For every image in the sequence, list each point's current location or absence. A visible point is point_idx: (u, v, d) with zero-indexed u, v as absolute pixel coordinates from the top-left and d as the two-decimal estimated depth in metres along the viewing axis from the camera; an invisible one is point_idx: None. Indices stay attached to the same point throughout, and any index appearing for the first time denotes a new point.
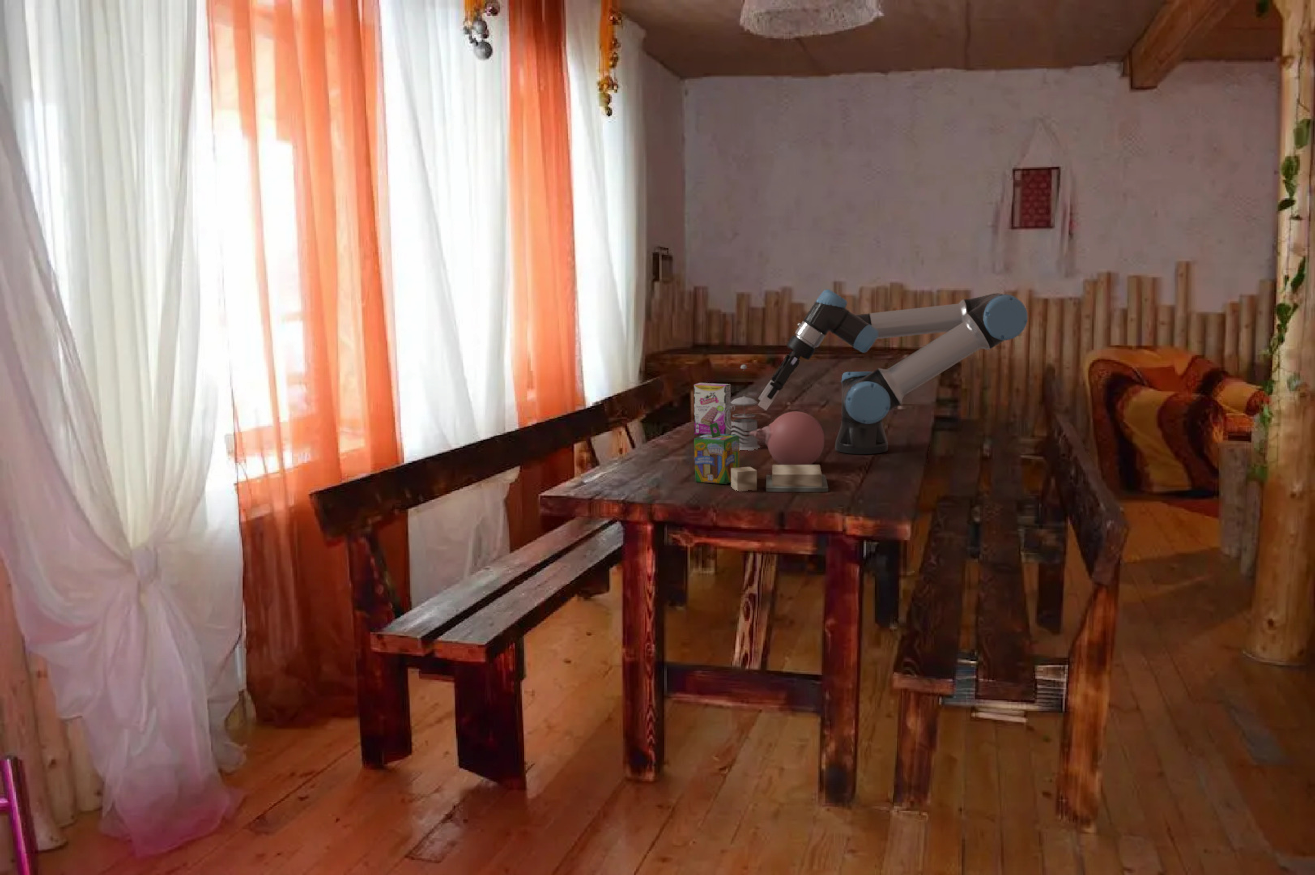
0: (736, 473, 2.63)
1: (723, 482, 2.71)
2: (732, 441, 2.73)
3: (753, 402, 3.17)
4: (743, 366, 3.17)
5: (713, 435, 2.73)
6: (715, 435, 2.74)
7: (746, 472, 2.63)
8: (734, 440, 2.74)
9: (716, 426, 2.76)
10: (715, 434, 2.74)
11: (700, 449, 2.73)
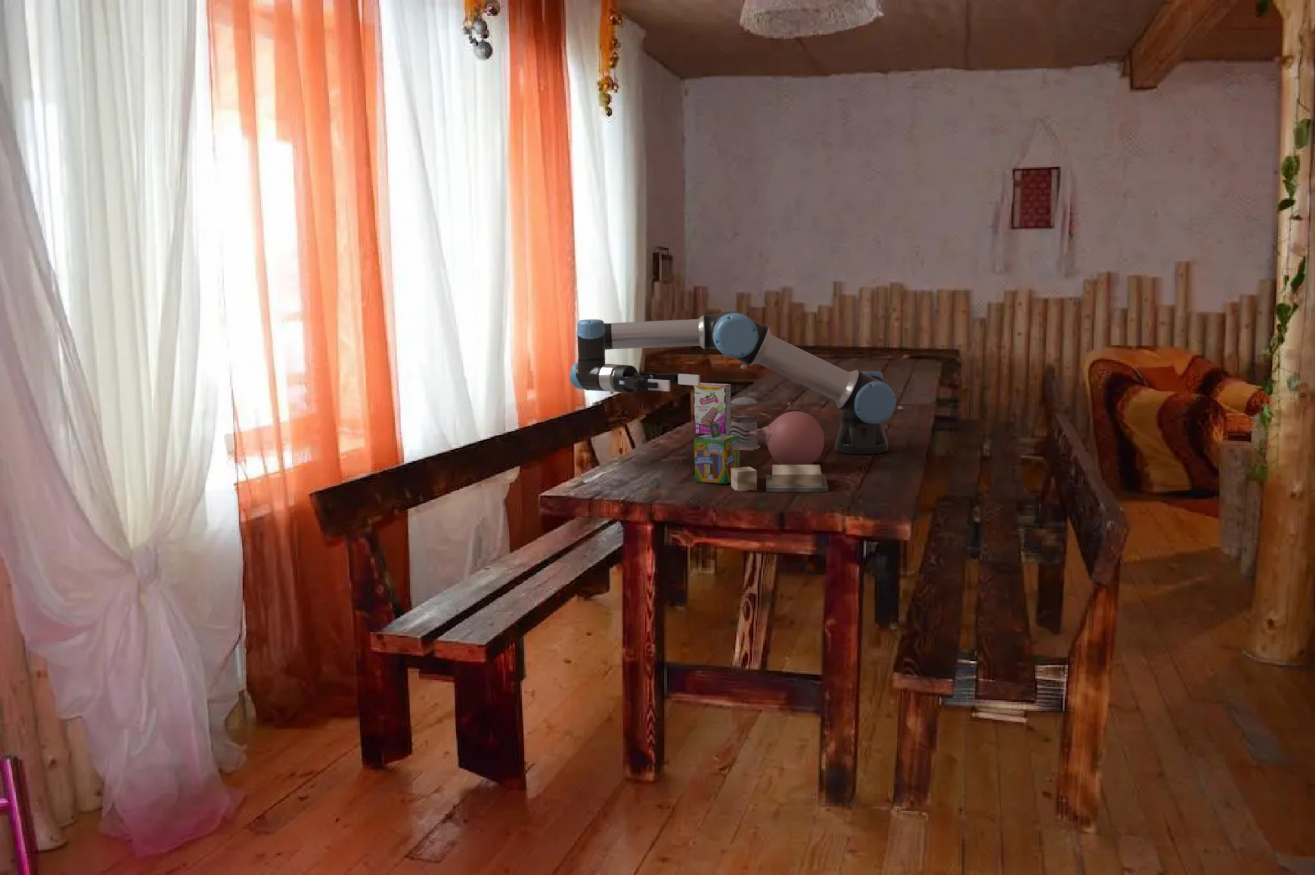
0: (736, 473, 2.63)
1: (723, 482, 2.71)
2: (732, 441, 2.73)
3: (753, 402, 3.17)
4: (743, 366, 3.17)
5: (713, 435, 2.73)
6: (715, 435, 2.74)
7: (746, 472, 2.63)
8: (734, 439, 2.74)
9: (716, 426, 2.76)
10: (715, 434, 2.74)
11: (700, 449, 2.73)
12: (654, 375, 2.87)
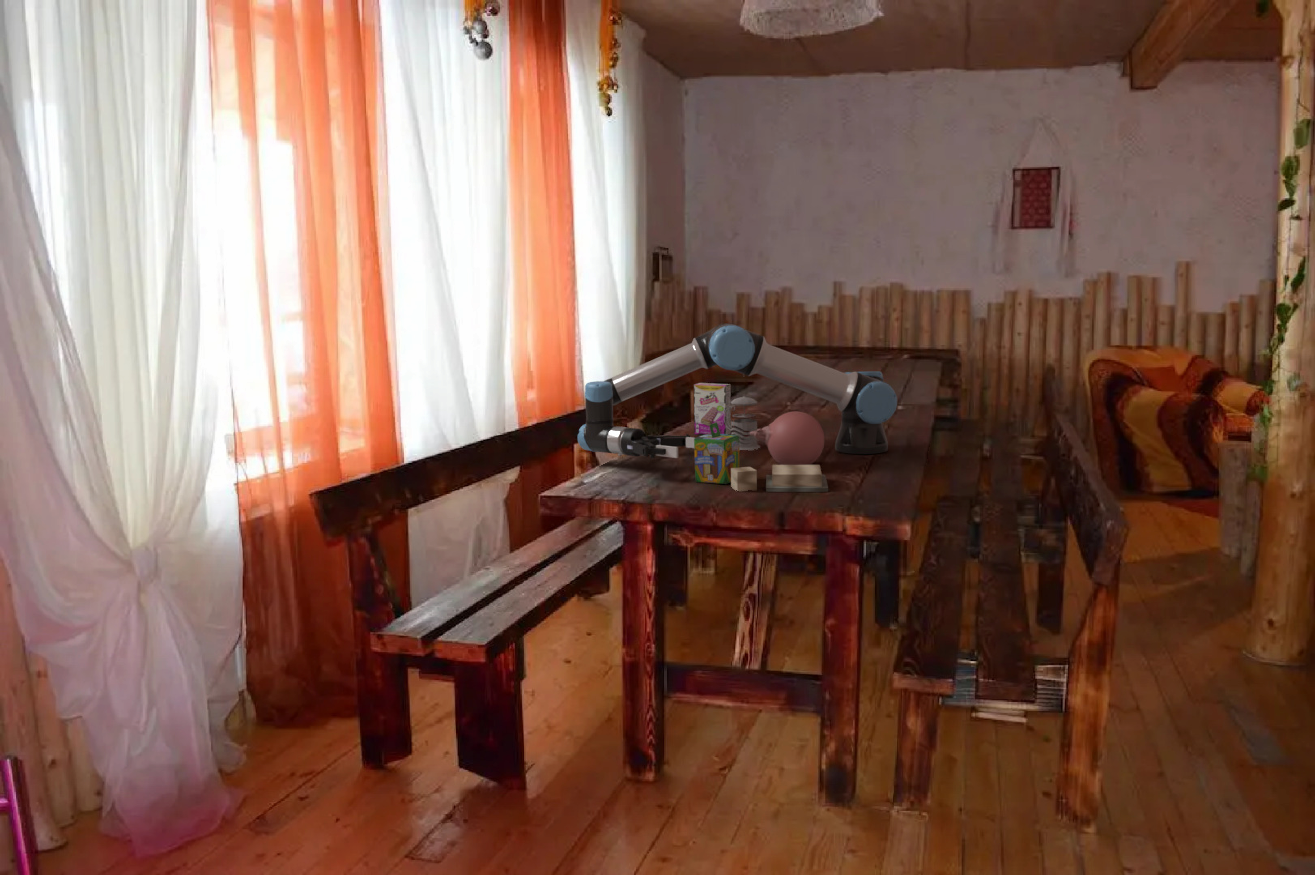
0: (736, 473, 2.63)
1: (723, 482, 2.71)
2: (732, 441, 2.73)
3: (753, 402, 3.17)
4: None
5: (713, 435, 2.73)
6: (715, 435, 2.74)
7: (746, 472, 2.63)
8: (734, 440, 2.74)
9: (716, 426, 2.76)
10: (715, 434, 2.74)
11: (700, 449, 2.73)
12: (662, 438, 2.88)
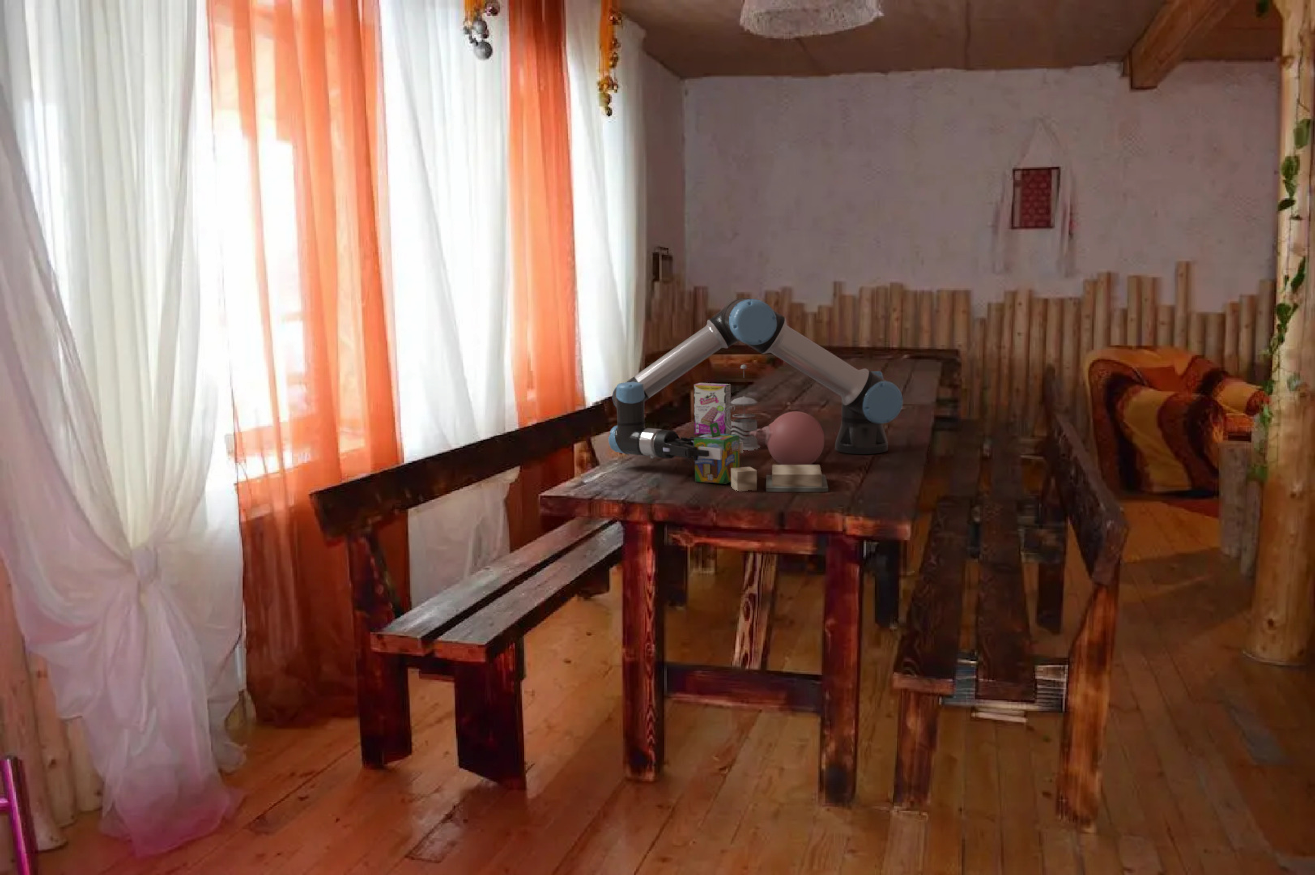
0: (736, 473, 2.63)
1: (723, 482, 2.71)
2: (732, 441, 2.73)
3: (753, 402, 3.17)
4: (743, 366, 3.17)
5: (713, 435, 2.73)
6: (715, 435, 2.74)
7: (746, 472, 2.63)
8: (734, 439, 2.74)
9: (716, 426, 2.76)
10: (715, 433, 2.74)
11: None
12: None
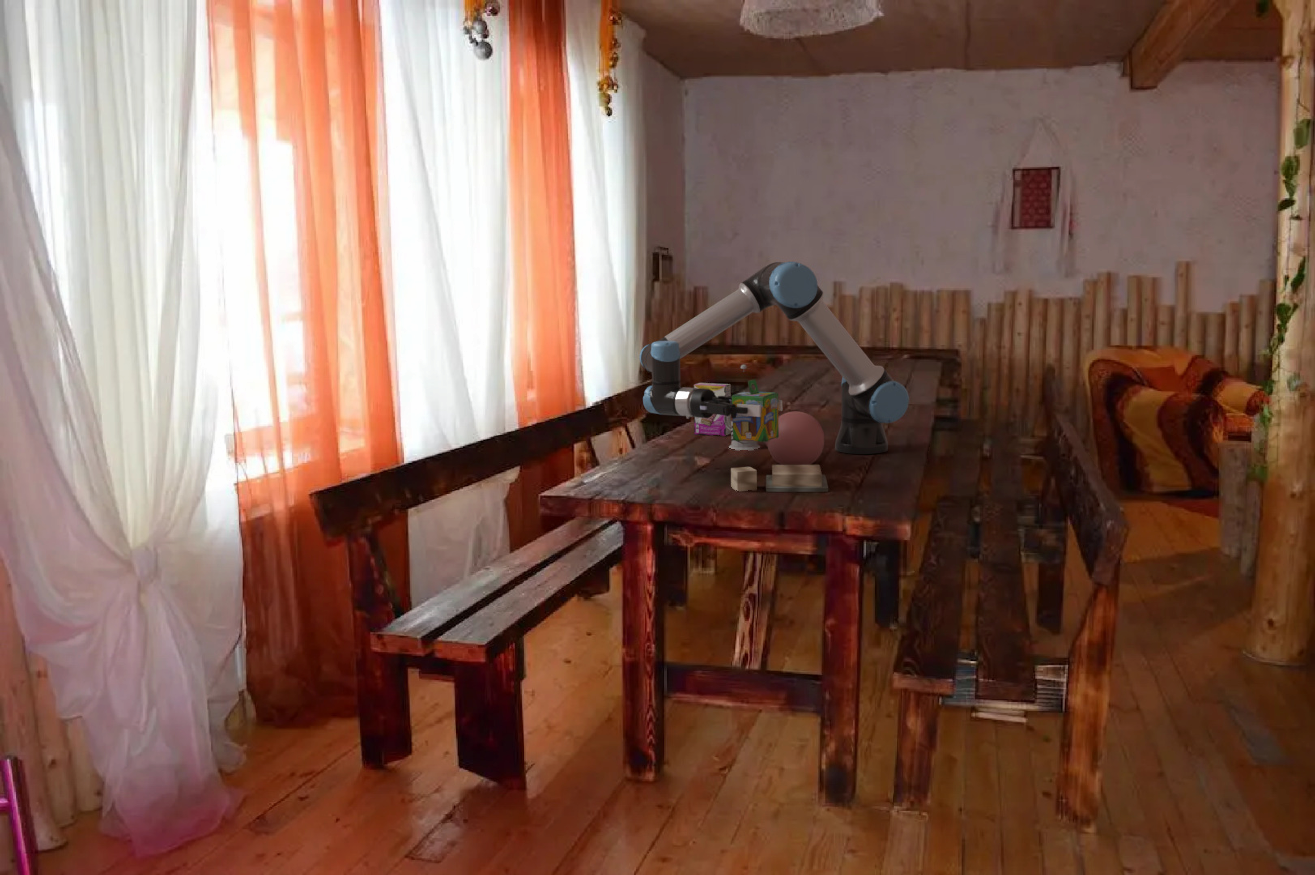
0: (736, 473, 2.63)
1: (762, 440, 2.63)
2: (771, 398, 2.65)
3: None
4: (743, 366, 3.17)
5: (751, 392, 2.66)
6: (753, 392, 2.67)
7: (746, 472, 2.63)
8: (773, 397, 2.66)
9: (754, 383, 2.68)
10: (753, 390, 2.67)
11: None
12: None
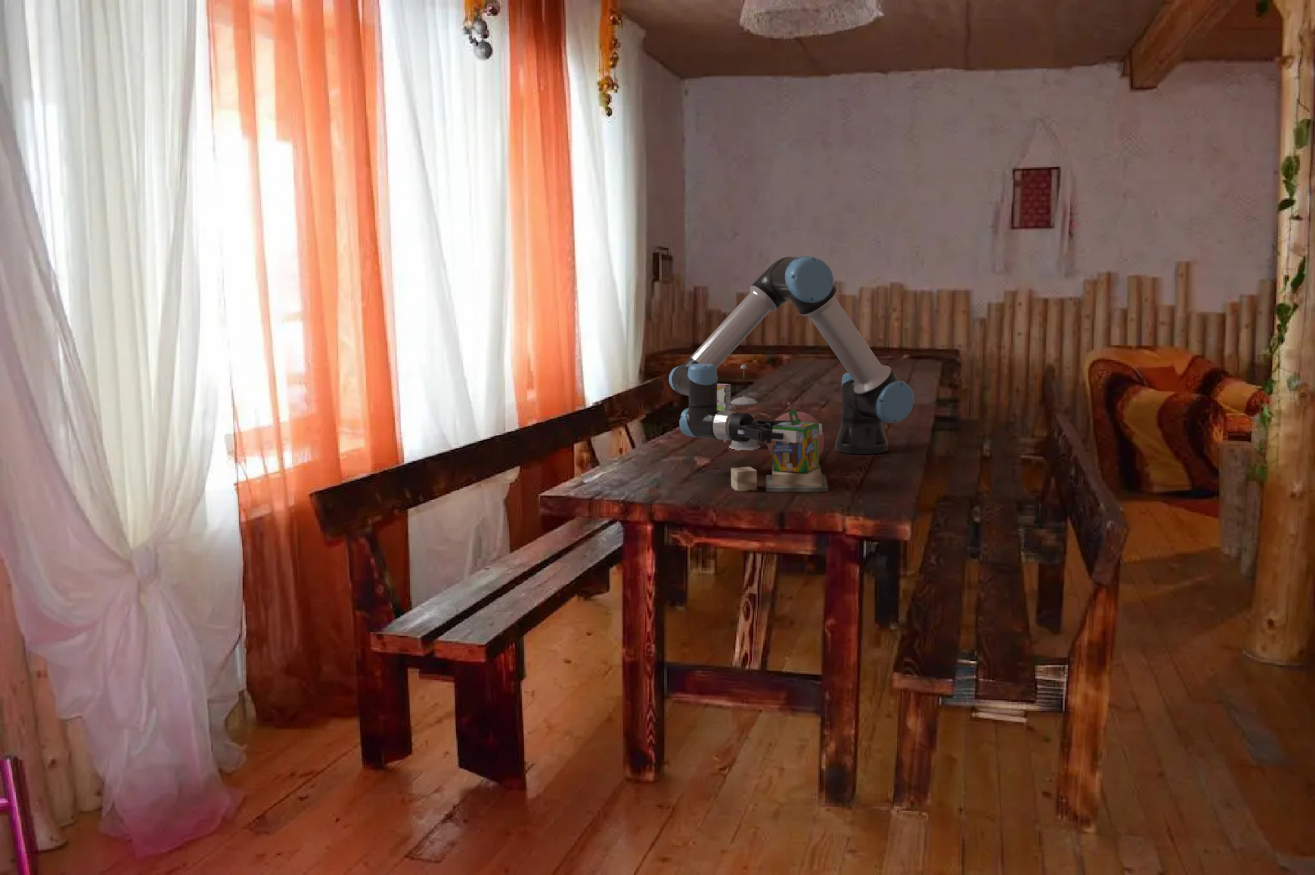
0: (736, 473, 2.63)
1: (803, 471, 2.62)
2: (812, 429, 2.64)
3: (753, 402, 3.17)
4: (743, 366, 3.17)
5: (792, 422, 2.65)
6: (794, 423, 2.65)
7: (746, 472, 2.63)
8: (814, 427, 2.65)
9: (795, 413, 2.67)
10: (794, 421, 2.65)
11: None
12: (772, 423, 2.73)
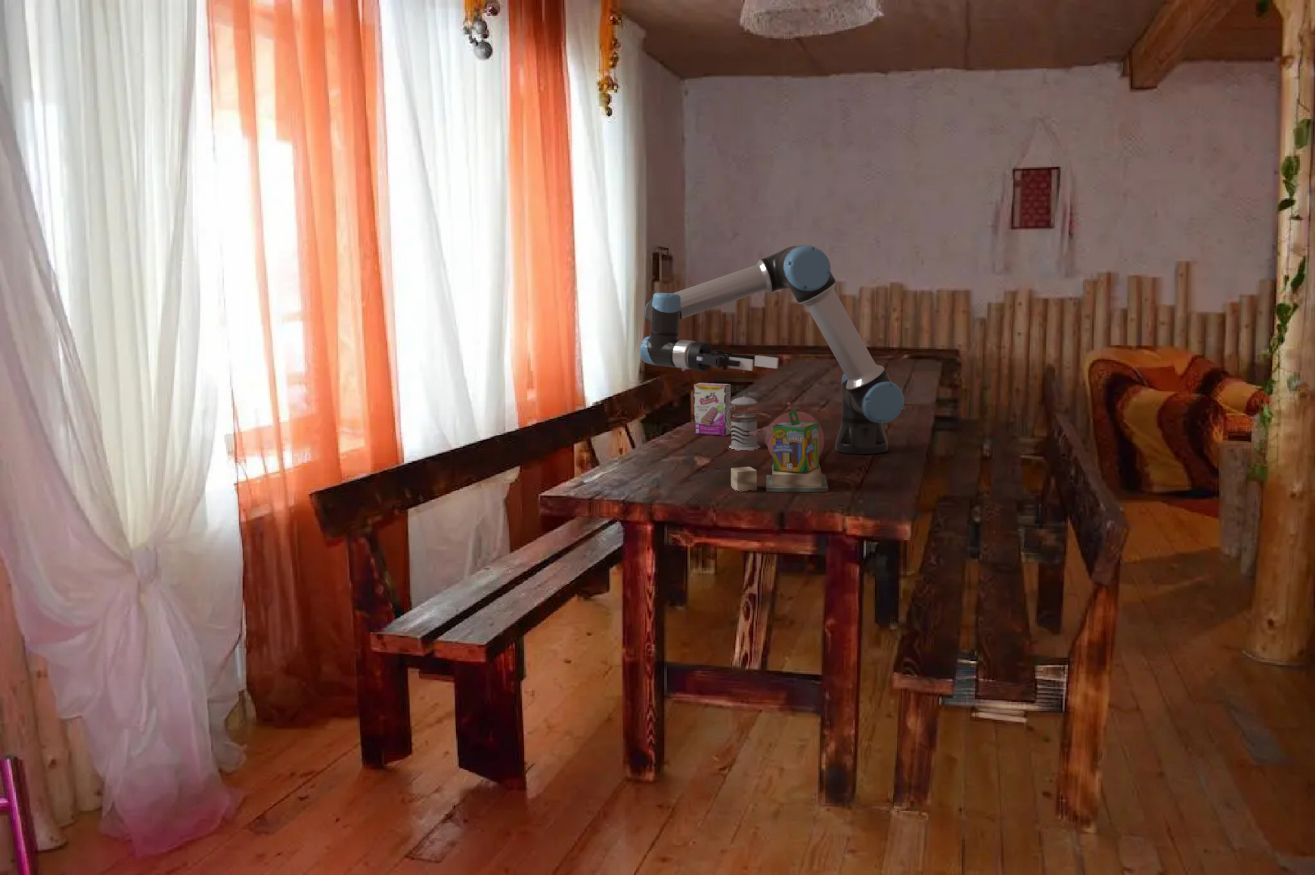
0: (736, 473, 2.63)
1: (803, 471, 2.62)
2: (812, 429, 2.64)
3: (753, 402, 3.17)
4: None
5: (792, 422, 2.65)
6: (794, 423, 2.65)
7: (746, 472, 2.63)
8: (814, 427, 2.65)
9: (795, 413, 2.67)
10: (794, 421, 2.65)
11: (779, 436, 2.64)
12: (730, 354, 2.80)
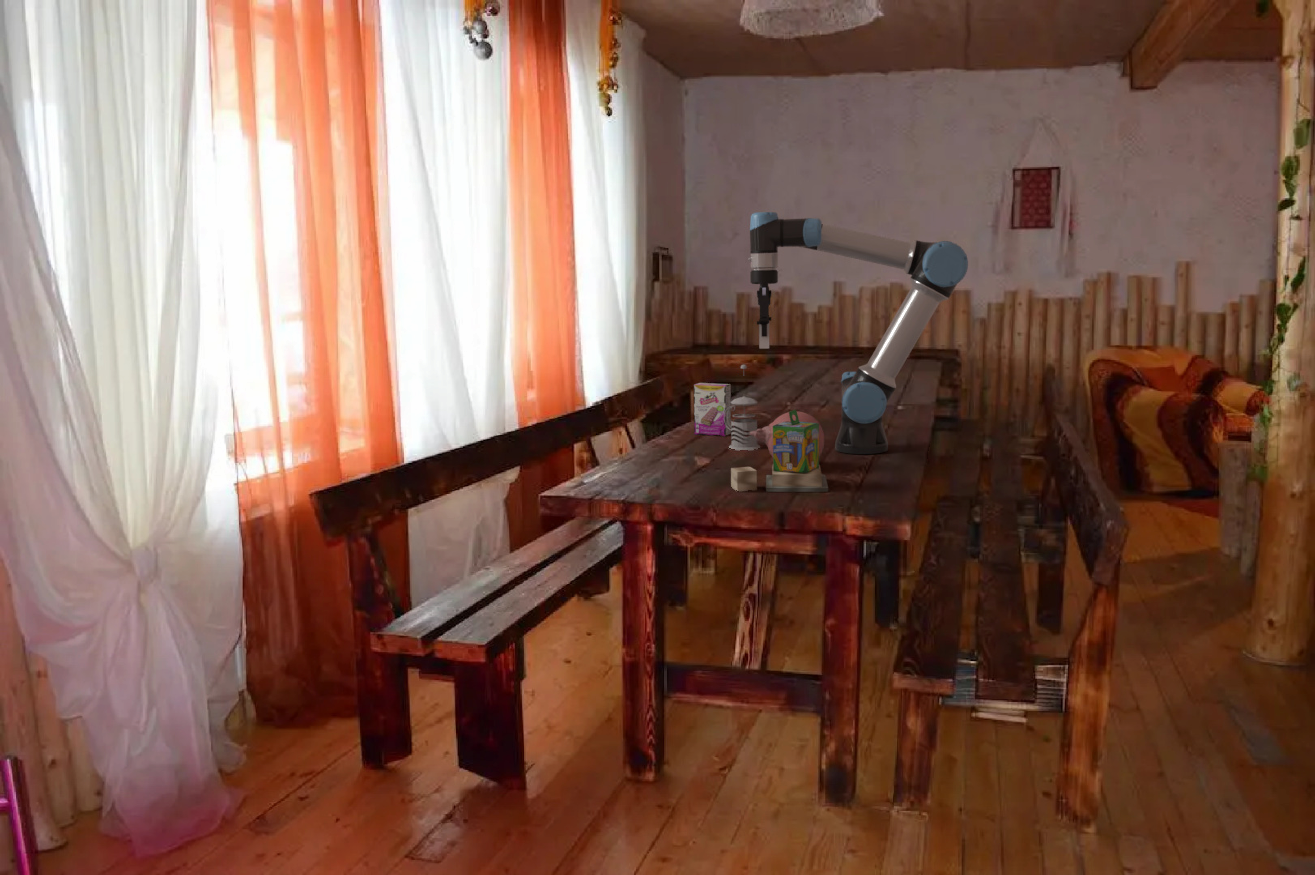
0: (736, 473, 2.63)
1: (803, 471, 2.62)
2: (812, 429, 2.64)
3: (753, 402, 3.17)
4: (743, 366, 3.17)
5: (792, 422, 2.65)
6: (794, 423, 2.65)
7: (746, 472, 2.63)
8: (814, 427, 2.65)
9: (795, 413, 2.67)
10: (794, 421, 2.65)
11: (779, 436, 2.64)
12: None
